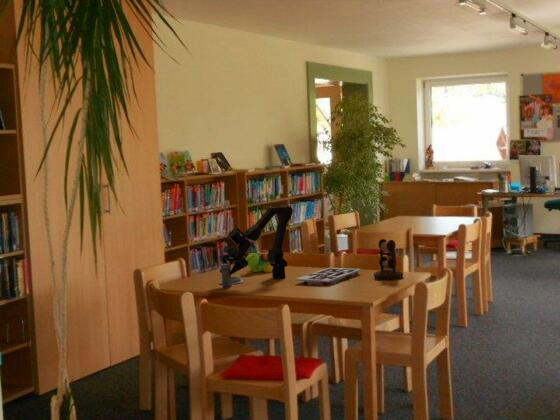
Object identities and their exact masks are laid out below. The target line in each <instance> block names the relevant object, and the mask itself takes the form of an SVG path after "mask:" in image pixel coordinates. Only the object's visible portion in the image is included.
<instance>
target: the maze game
mask: <svg viewBox="0 0 560 420" xmlns="http://www.w3.org/2000/svg"><path fill="white" fill-rule="evenodd" d="M361 271H362V268H346V267H345V268H342V267H328V268H325V269H321V270H319V271H315V272H313V273H310V274H305V275H303V276H301V277H296V278H295V279H294V281H296V282H297V281H298V282H306V283H307V284H308V286H309V285H311V286H325V285H328V286H332V285H335V284H337V283H338V282H342V281H344V280H346V279H350V278H354V277H357V276H359V272H361Z"/></svg>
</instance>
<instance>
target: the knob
mask: <svg viewBox="0 0 560 420" xmlns="http://www.w3.org/2000/svg"><path fill="white" fill-rule="evenodd" d="M220 269H221V273H220V274H221V281H222V285H221V286H222V289H230V288H229V287H233V285H232V282H231V277H232V275H230V274H229V273H230V271H231V269H232V264H222V263H221V264H220Z"/></svg>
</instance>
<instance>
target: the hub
mask: <svg viewBox="0 0 560 420" xmlns="http://www.w3.org/2000/svg"><path fill="white" fill-rule="evenodd" d="M243 281H244V280H243V279H241V276H231V282H232V284H234V285H238V283H240V284H243V283H244V282H243ZM242 282H243V283H242ZM218 284H219V285H221V284H222V280H220V281H219V282H218Z"/></svg>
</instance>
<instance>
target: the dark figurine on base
mask: <svg viewBox="0 0 560 420" xmlns="http://www.w3.org/2000/svg"><path fill="white" fill-rule="evenodd" d="M378 248H379V253H378V254H379V255H380V258H379V266H380V270H377V271H375V272H374V273H373V277H374V279H377V278H383V279H386V281H389V279H390V278H399V277H400V278H401V279H402V278H403V275H404V272H403V271H401V270H399V269H397V268H396V267H397V256H396V250H395V249H396V242H395V240H393V239H389V240H388V241H387V240H386V239H385V238H381V239H380V240H379V241H378ZM386 256H387V257H386Z"/></svg>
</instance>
